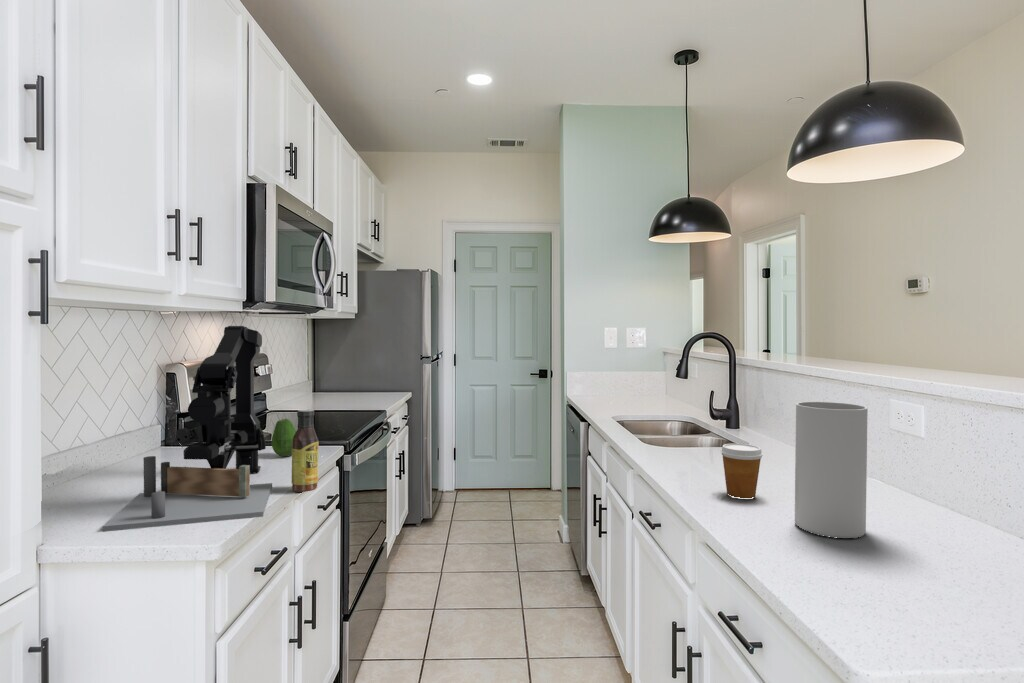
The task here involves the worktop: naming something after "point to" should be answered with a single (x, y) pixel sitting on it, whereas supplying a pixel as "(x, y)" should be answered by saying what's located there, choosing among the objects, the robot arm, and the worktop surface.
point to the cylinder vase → (831, 468)
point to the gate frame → (185, 505)
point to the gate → (205, 480)
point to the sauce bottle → (305, 453)
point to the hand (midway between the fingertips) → (218, 479)
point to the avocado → (283, 437)
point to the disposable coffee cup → (741, 469)
